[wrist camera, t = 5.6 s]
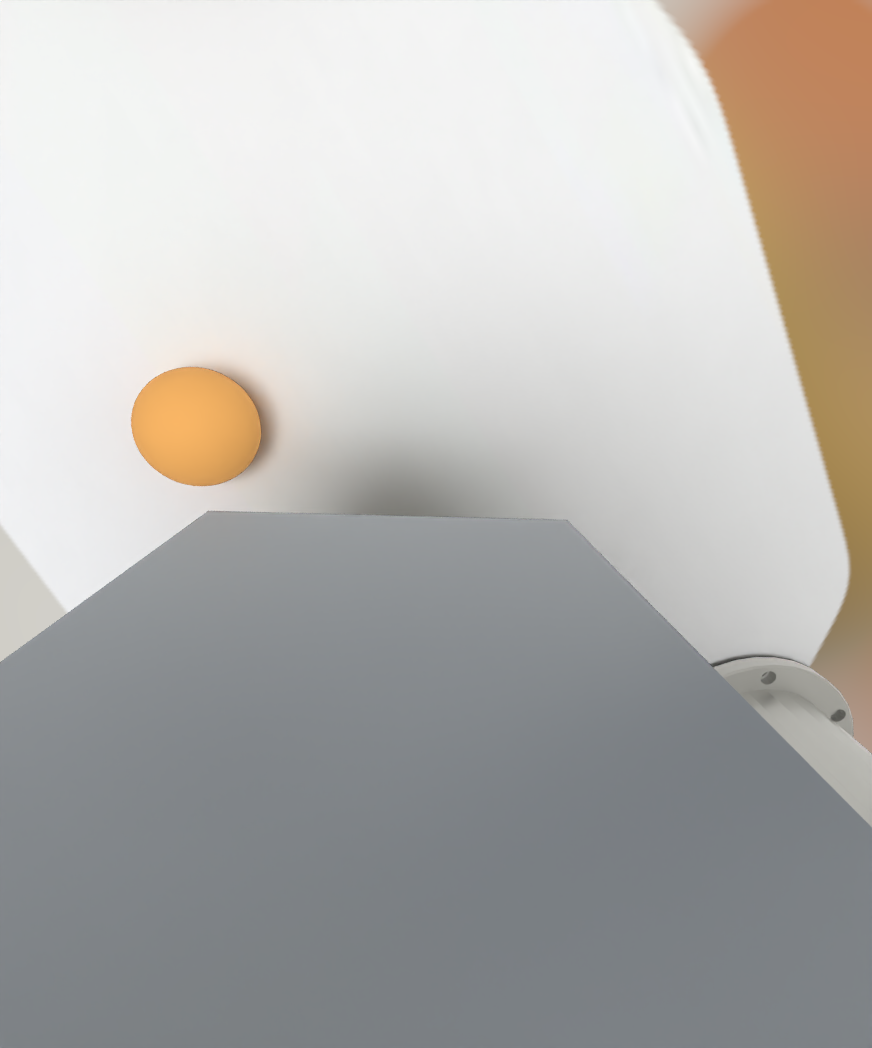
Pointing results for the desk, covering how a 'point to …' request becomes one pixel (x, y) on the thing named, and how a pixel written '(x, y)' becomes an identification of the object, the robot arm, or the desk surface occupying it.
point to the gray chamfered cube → (409, 809)
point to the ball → (196, 426)
